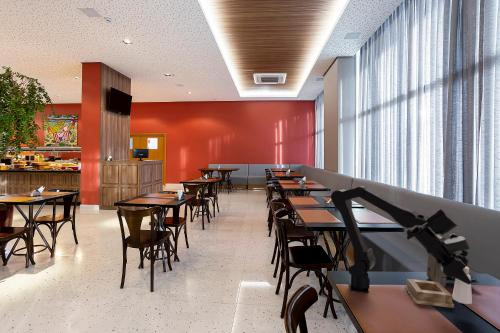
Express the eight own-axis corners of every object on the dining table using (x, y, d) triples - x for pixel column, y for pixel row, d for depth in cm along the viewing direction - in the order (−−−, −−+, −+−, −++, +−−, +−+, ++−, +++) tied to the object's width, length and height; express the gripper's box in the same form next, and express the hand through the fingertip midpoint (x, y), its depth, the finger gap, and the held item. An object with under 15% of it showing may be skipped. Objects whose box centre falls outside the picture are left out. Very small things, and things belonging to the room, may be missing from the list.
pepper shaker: (449, 298, 93) (451, 265, 93) (455, 294, 97) (457, 262, 96) (469, 306, 89) (471, 271, 89) (474, 301, 92) (476, 267, 92)
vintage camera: (479, 293, 110) (484, 242, 110) (435, 287, 113) (439, 237, 113) (466, 283, 120) (470, 236, 119) (425, 277, 123) (429, 232, 122)
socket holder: (415, 303, 100) (416, 292, 100) (404, 288, 112) (405, 278, 112) (454, 307, 98) (454, 296, 98) (438, 291, 110) (439, 281, 109)
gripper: (459, 234, 85) (503, 278, 81) (445, 221, 102) (482, 257, 98) (426, 255, 89) (467, 299, 84) (419, 240, 106) (453, 275, 101)
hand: (468, 281), depth 92 cm, fingers closed on pepper shaker, 4 cm apart
